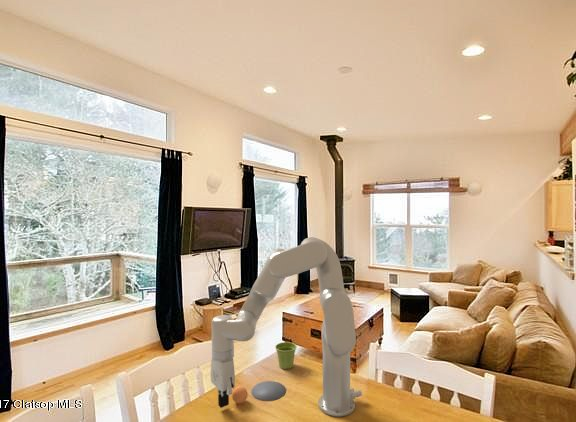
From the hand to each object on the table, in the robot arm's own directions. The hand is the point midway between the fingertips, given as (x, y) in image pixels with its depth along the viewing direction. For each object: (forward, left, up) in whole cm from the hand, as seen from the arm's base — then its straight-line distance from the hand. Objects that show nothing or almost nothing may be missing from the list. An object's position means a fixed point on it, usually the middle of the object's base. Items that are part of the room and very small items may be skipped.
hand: (223, 405), depth 115 cm
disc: (-18, -4, -1) cm, 19 cm away
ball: (-6, -1, +2) cm, 6 cm away
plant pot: (-32, -19, -2) cm, 37 cm away
